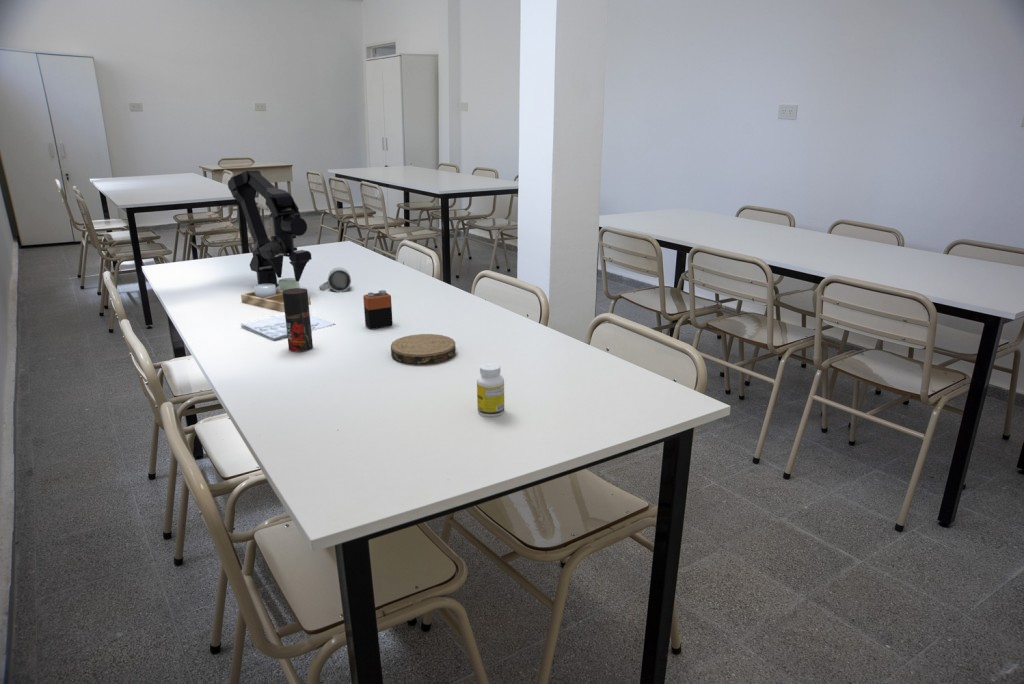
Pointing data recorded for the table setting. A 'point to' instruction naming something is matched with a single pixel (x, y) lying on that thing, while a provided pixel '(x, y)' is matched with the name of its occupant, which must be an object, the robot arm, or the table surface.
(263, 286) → the pale blue rounded cylinder
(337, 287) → the ceramic mug
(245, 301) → the divided wooden tray
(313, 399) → the table surface
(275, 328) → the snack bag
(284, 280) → the sage green cylinder
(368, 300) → the battery
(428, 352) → the wood slice coaster
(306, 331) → the deodorant
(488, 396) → the supplement bottle
